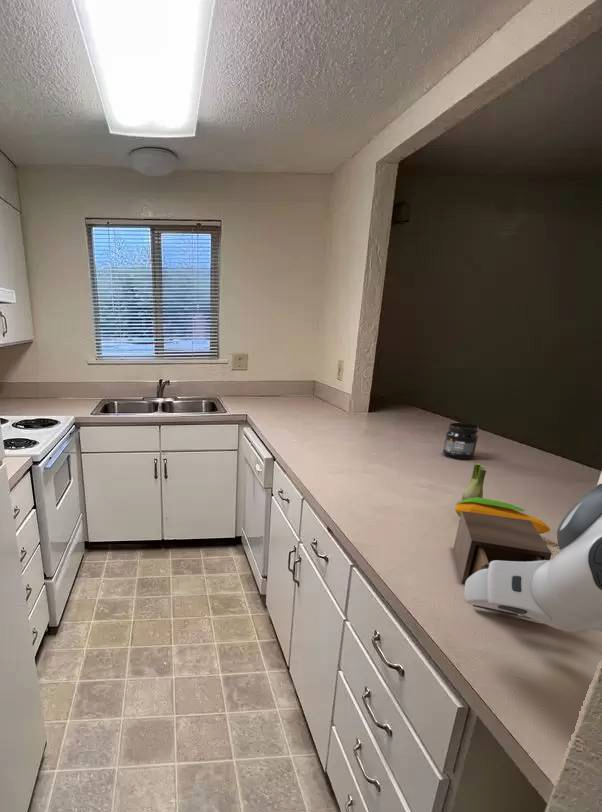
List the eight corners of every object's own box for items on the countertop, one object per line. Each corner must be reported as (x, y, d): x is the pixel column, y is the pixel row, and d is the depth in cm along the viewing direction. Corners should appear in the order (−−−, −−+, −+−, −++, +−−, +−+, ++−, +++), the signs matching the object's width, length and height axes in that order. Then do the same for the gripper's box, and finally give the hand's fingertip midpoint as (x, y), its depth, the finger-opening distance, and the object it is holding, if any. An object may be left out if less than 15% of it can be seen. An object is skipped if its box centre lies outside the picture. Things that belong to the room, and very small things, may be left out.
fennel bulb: (479, 510, 120) (489, 469, 116) (459, 505, 123) (468, 466, 119) (481, 503, 125) (491, 463, 121) (462, 499, 128) (470, 460, 123)
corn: (462, 487, 116) (557, 508, 103) (457, 512, 119) (548, 535, 106) (454, 497, 111) (553, 520, 98) (449, 523, 114) (544, 548, 101)
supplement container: (462, 451, 172) (468, 422, 168) (479, 459, 162) (487, 428, 158) (436, 452, 171) (442, 422, 167) (452, 460, 162) (459, 429, 157)
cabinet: (538, 598, 83) (552, 553, 79) (461, 583, 88) (471, 540, 84) (519, 560, 96) (530, 520, 92) (453, 549, 100) (461, 510, 97)
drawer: (558, 638, 71) (572, 598, 68) (476, 620, 75) (486, 582, 73) (529, 581, 87) (539, 546, 84) (462, 568, 91) (470, 535, 88)
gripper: (665, 589, 55) (608, 608, 67) (479, 557, 63) (457, 579, 75) (672, 640, 53) (612, 650, 65) (477, 600, 60) (455, 616, 72)
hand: (528, 612), depth 70 cm, fingers closed
